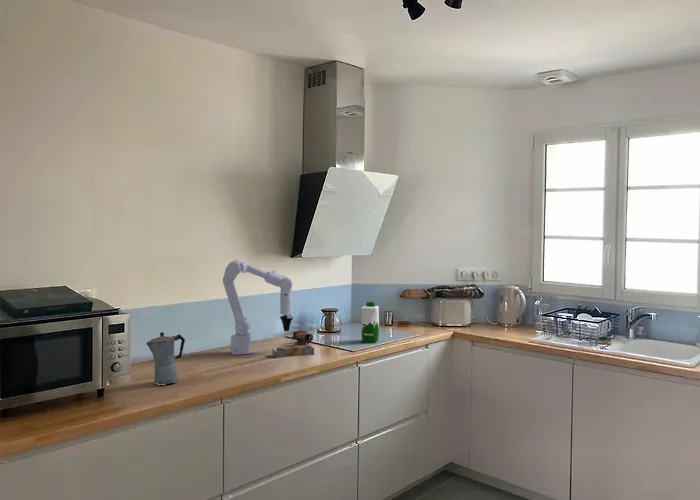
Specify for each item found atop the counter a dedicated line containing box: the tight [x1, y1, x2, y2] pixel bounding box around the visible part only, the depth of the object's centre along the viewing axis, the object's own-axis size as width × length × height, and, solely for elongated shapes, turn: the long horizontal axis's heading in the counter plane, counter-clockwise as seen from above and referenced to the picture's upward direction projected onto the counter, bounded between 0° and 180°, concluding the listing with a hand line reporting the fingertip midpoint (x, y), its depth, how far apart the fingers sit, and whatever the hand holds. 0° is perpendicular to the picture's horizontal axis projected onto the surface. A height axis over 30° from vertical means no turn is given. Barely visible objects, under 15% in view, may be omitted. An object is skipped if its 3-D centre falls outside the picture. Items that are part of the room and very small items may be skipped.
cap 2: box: [303, 344, 315, 356], centre depth 270 cm, size 5×7×3 cm
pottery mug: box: [291, 330, 314, 346], centre depth 289 cm, size 12×10×8 cm
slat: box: [276, 344, 310, 358], centre depth 267 cm, size 15×4×4 cm, turn 109°
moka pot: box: [145, 332, 186, 385], centre depth 223 cm, size 10×15×20 cm, turn 135°
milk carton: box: [360, 301, 380, 344], centre depth 294 cm, size 9×9×20 cm
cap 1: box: [271, 348, 286, 359], centre depth 265 cm, size 5×7×3 cm
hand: (286, 331), depth 274 cm, fingers closed
